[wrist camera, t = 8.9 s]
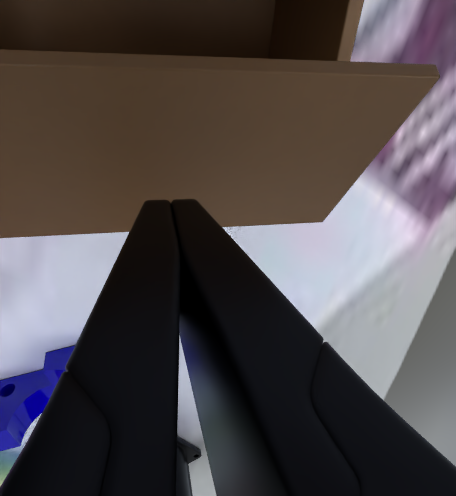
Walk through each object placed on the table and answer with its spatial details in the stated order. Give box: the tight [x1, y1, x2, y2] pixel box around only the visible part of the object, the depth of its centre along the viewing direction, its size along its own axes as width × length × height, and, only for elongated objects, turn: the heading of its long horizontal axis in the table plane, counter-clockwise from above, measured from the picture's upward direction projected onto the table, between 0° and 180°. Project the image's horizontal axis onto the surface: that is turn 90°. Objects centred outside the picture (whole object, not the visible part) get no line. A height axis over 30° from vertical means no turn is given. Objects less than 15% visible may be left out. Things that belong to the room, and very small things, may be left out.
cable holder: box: [0, 346, 75, 451], centre depth 28 cm, size 8×4×4 cm, turn 98°
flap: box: [0, 49, 440, 238], centre depth 12 cm, size 7×13×1 cm, turn 85°
